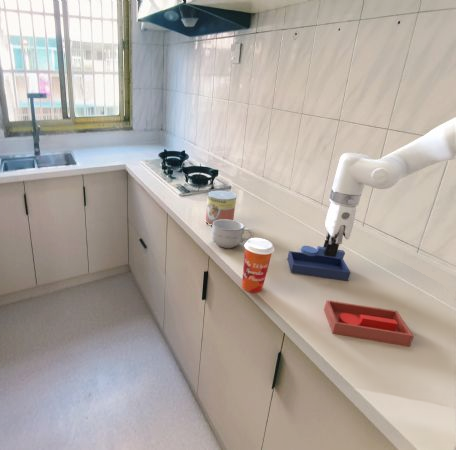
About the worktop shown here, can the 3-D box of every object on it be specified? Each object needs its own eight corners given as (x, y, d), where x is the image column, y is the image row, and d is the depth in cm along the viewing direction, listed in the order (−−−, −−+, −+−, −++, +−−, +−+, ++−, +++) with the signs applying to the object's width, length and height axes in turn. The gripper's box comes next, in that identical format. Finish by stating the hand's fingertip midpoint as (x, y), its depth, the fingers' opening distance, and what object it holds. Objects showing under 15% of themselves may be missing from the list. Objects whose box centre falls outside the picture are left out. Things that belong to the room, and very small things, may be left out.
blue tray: (340, 265, 109) (342, 257, 108) (348, 281, 100) (350, 272, 99) (287, 258, 112) (289, 250, 111) (290, 273, 104) (292, 264, 102)
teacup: (205, 245, 119) (207, 224, 116) (218, 234, 127) (220, 215, 124) (242, 257, 112) (246, 235, 109) (254, 245, 120) (257, 225, 117)
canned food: (199, 221, 139) (202, 193, 134) (216, 215, 146) (219, 188, 141) (221, 230, 131) (225, 201, 126) (238, 223, 138) (242, 195, 133)
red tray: (393, 320, 84) (397, 310, 83) (409, 346, 76) (414, 336, 75) (323, 309, 87) (326, 300, 86) (332, 333, 79) (335, 323, 78)
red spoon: (389, 323, 82) (392, 315, 81) (397, 336, 78) (401, 328, 77) (336, 315, 85) (338, 307, 84) (341, 327, 81) (343, 319, 80)
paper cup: (236, 291, 94) (243, 246, 88) (240, 277, 100) (247, 234, 95) (265, 298, 91) (274, 252, 86) (267, 283, 98) (276, 240, 92)
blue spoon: (339, 255, 105) (342, 248, 104) (344, 262, 101) (346, 255, 100) (299, 247, 107) (301, 241, 106) (301, 254, 103) (304, 247, 102)
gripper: (368, 208, 88) (349, 268, 96) (351, 190, 102) (335, 244, 110) (337, 205, 90) (321, 264, 97) (324, 188, 104) (311, 241, 111)
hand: (328, 253), depth 103 cm, fingers closed on blue spoon, 1 cm apart
